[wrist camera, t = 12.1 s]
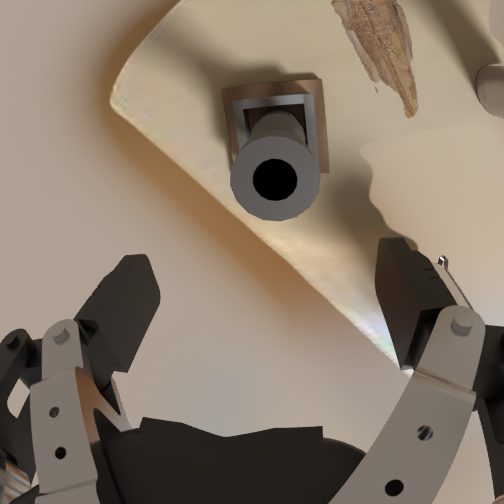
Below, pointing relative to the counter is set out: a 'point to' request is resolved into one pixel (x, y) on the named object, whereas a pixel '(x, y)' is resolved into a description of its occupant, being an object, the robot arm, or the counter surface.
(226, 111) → the collar socket
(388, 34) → the fish fossil
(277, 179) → the candle holder
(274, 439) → the robot arm
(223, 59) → the counter surface
